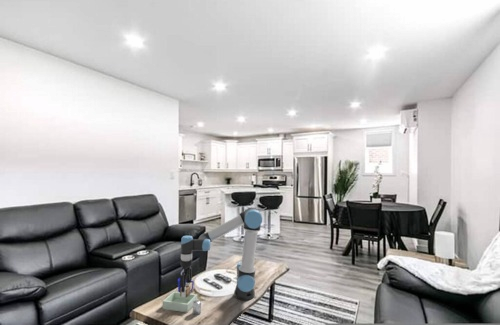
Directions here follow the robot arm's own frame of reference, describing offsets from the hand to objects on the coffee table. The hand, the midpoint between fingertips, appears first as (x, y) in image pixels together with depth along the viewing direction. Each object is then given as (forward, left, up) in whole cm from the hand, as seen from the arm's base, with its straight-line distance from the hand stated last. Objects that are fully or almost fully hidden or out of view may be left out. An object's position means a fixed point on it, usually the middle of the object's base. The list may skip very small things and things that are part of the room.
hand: (185, 294), depth 175 cm
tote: (+4, 0, -8) cm, 9 cm away
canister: (-11, +6, -8) cm, 15 cm away
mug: (+9, -17, -8) cm, 21 cm away
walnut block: (0, 0, 0) cm, 1 cm away
